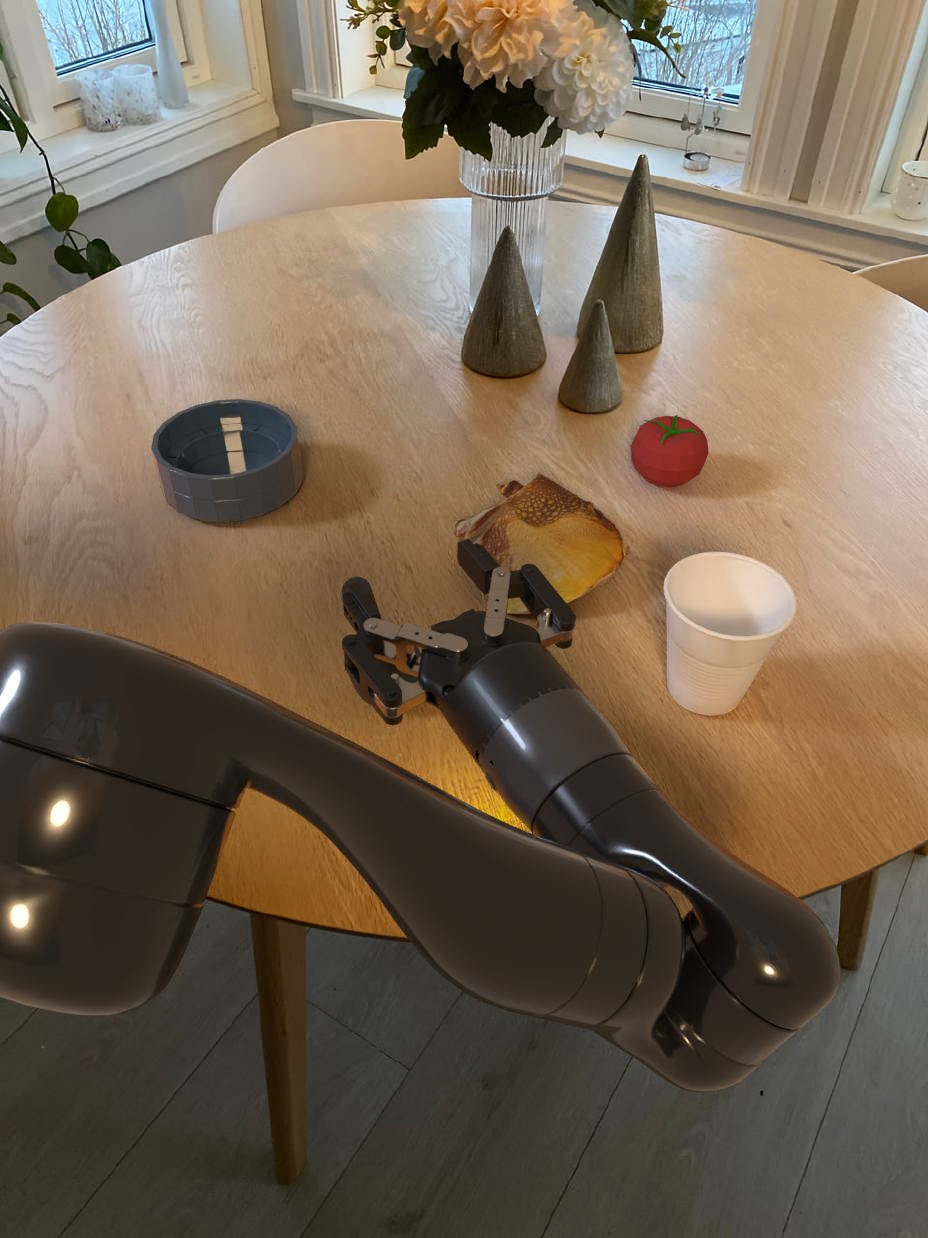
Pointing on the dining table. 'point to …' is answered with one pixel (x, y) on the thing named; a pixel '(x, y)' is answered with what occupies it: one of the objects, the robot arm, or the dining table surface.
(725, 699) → the cup
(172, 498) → the bowl
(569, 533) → the seashell
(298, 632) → the dining table surface
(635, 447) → the tomato
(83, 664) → the robot arm
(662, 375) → the dining table surface
